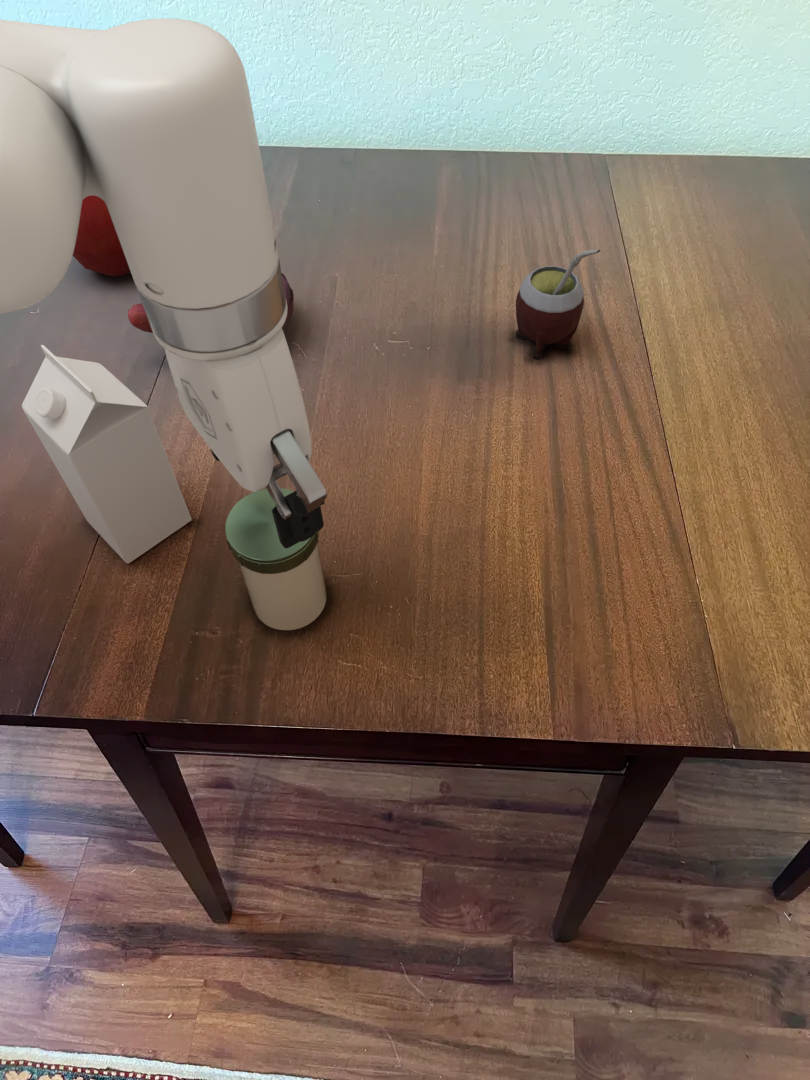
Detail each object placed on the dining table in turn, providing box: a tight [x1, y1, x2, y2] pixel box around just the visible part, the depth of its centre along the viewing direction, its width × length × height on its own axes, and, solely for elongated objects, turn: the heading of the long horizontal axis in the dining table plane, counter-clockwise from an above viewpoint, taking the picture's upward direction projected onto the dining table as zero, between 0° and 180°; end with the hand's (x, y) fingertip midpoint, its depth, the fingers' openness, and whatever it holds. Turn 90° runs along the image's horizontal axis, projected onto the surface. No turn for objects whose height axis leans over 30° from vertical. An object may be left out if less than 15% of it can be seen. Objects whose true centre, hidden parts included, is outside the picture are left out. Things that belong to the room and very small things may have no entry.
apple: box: [72, 195, 131, 277], centre depth 90 cm, size 12×12×13 cm
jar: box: [237, 542, 327, 631], centre depth 64 cm, size 6×6×11 cm
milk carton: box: [21, 344, 193, 565], centre depth 65 cm, size 7×7×19 cm
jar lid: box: [224, 487, 319, 574], centre depth 60 cm, size 7×7×2 cm
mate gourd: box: [515, 249, 602, 360], centre depth 81 cm, size 8×8×15 cm
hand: (267, 491), depth 56 cm, fingers open, 9 cm apart
